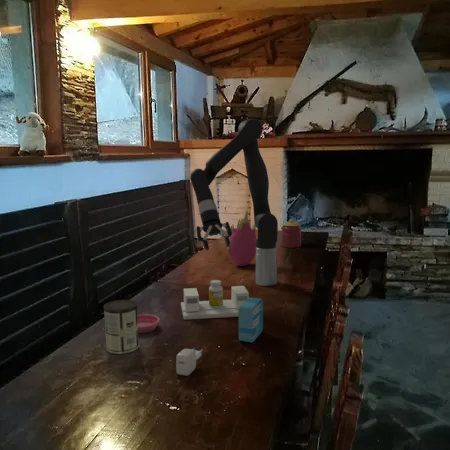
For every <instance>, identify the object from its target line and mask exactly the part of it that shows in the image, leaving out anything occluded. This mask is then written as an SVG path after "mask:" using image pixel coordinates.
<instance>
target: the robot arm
mask: <svg viewBox="0 0 450 450" xmlns="http://www.w3.org/2000/svg"><path fill="white" fill-rule="evenodd" d="M263 130H264V127H263V124H262V122H261V121H259V120H258V119H255V118H249V119H244V120H243V121H241V122H240V123H239V125H238V128H237V134H236V135H235V136H234V137H233V138H232V139H231V140H230V141H228V142H227V143H226V144H225V145H223V146H222V147H221V148H219V149H217V151H216V152H215V153H213V155H212V156H210V158H209V159H208V160H207V161H206V162H205V167H204V169H202V168H194V169H193V170H191V173H190V176H189V177H190V178H189V179H190V182H191V185H192V188H193V191H194V194H195V198H196V203H197V205H198V214H199V217H200V220H201V225H202V226H199V225H197V226H196V228H195V232H196V237H197V242H198V243H200V242H202V244H203V247H204V249H205V250H206V251H209V250H210V247H209V246H210V245H209V243H208V242H209V241H208V240H207V239H208V237H209V236H210V237H213V236H218V235H219V236H221V237H222V238H223V239H224V242H225V246H226V248H227V247H229V245H230V241H229V237H231V235H232V231H231V226H230V223H229V222H228V221H226V222H224V223H222V222H221V218H220V215H219V212H218V208H217V205H216V203H215V199H214V195H213V193H212V191H211V189H210V186H211V183H213V181H214V180H215V178H216V177H217V175H218V174H219V173H220V172H221V170H223V169H224V168H225V167H226V166H227V165H228V163H230V162H231V161H232V160H233V159H234V158H235V157H236V156H237V155H238V154H239V153H240V152H241V151H242V152H243V157H244V158H243V159H244V165H245V171H246V178H247V183H248V188H249V191H250V192H249V193H250V196H251V202H252V207H253V221H254V224H255V226H256V229H257V237H256V239H257V241H256V254H255V284H256V285H257V286H263V287H264V286H265V287H266V286H267V287H269V286H271V287H272V286H274V285H277V284H278V277H277V276H278V264H277V263H276V261H277V260H276V258H277V257H276V256H277V242H278V233H279V232H278V229H279V226H278V225H279V224H278V223H279V221H278V219H277V217H276V216H275V215H274V214H272V211H271V209H270V204H269V189H270V188H269V187H270V185H269V184H270V183H269V181H270V180H269V175H268V170H267V166H266V163H265V161H264V159H263V157H262V155H261V151H260V148H259V142H258V139H259V138H260V137H261V136H262V134H263ZM223 228H224V229H225V230H226V231H225V230H224V229H223ZM202 231H203V232H204V233H205V234H204V236H203V237H202Z"/></svg>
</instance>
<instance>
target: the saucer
mask: <svg viewBox="0 0 450 450" xmlns="http://www.w3.org/2000/svg"><path fill="white" fill-rule="evenodd" d="M137 319H138V334H146V333H151V332H152V331H155V329H156V328H157V327H158V326H159V325H160V322H161V319H160V318H159V317H158V315H154V314H147V313H146V314H145V313H144V314H137Z"/></svg>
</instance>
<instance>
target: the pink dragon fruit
mask: <svg viewBox="0 0 450 450" xmlns="http://www.w3.org/2000/svg"><path fill="white" fill-rule="evenodd" d="M230 228H231V231H232V235H231V237H229V241H230V245H229V247H226V250H227V254H228V255H229V257H230V259H231V261H232V262H233V263H234V264H235V265H237V266H241V267H244V266H245V267H246V266H248V265H249V264H251V263H252V261H253V260H254V258H256V241H257V235H256V229H257V228H256V226H255V223H254V224H252V227H251V225H250V220H249V213H248V210H245V214H244V217H243V218H240V219H238V220H237V223H236V228H235V225H234V224H231V226H230Z"/></svg>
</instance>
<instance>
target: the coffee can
mask: <svg viewBox="0 0 450 450" xmlns="http://www.w3.org/2000/svg"><path fill="white" fill-rule="evenodd" d="M103 311H104V313H103V314H104V327H105V329H104V332H105V349H106V352H108V353H110V354H114V355H115V354H116V355H118V354H119V355H120V354H121V355H122V354H128V353H132V352H134V351H136V350H137V349H138V348H139V346H140V345H139V333H138V319H137V315H138V302H137V301H135V300H132V299H117V300H112V301H109V302H106V303H105V304H104V305H103Z"/></svg>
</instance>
